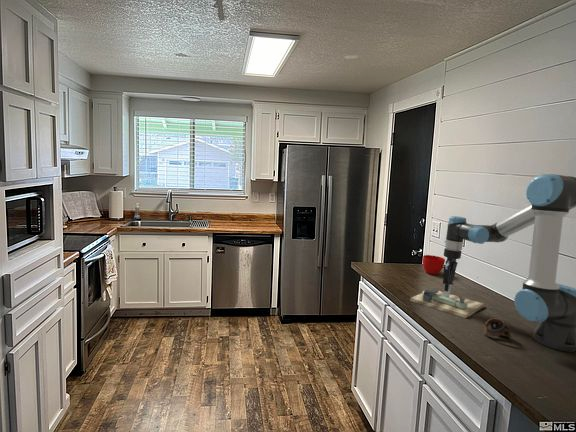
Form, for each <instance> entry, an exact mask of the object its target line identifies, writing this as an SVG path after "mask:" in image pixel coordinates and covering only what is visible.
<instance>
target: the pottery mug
mask: <svg viewBox="0 0 576 432" xmlns="http://www.w3.org/2000/svg"><path fill="white" fill-rule="evenodd" d="M488 325H490V327H489V326H488ZM483 334H484V336H493V337H495V336H497V337H499V336H503V337H505V336H506V337H508V338H509V340H512V334H511V332H510V326H509V325H508V323H506V322H505V321H504V320H503V319H502V318H498V317H495V316H492V317H490V318H489V319H488V320H487V321H486V322H485V323H484V330H483Z"/></svg>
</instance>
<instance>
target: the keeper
mask: <svg viewBox="0 0 576 432" xmlns="http://www.w3.org/2000/svg"><path fill="white" fill-rule="evenodd" d="M423 291H424V295H423V301H426V302H431V301H432V295H434V294H436V293H438V291H440V290H439V289H438V288H434V287H431V288H428V289H427V290H423Z"/></svg>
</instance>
